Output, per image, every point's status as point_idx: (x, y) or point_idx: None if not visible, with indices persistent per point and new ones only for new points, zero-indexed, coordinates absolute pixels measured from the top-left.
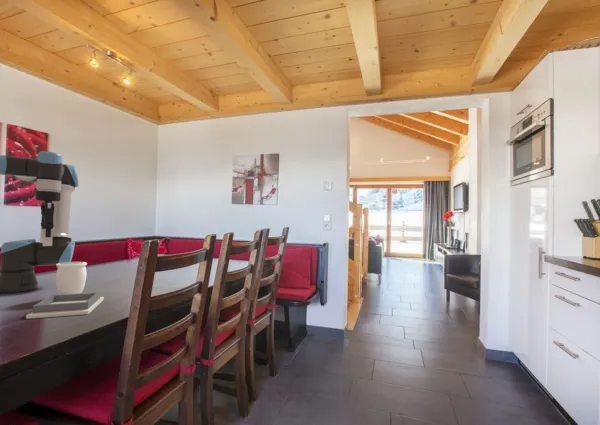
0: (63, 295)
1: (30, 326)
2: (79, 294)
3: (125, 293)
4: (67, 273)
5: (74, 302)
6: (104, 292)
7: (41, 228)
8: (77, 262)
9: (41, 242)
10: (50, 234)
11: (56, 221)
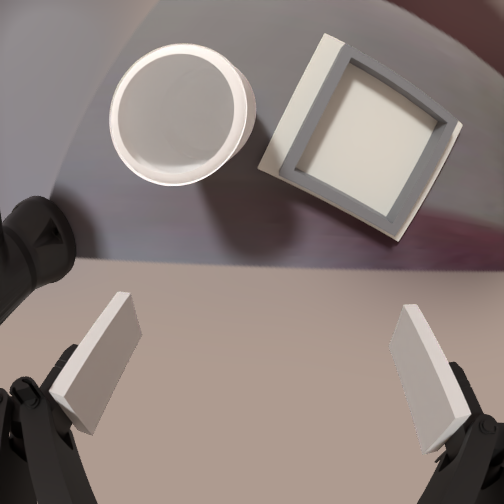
0: (305, 145)
1: (454, 236)
2: (327, 101)
3: None
4: (245, 134)
5: (436, 147)
6: (207, 15)
7: (96, 423)
8: (120, 88)
9: (139, 332)
10: (466, 380)
11: None
